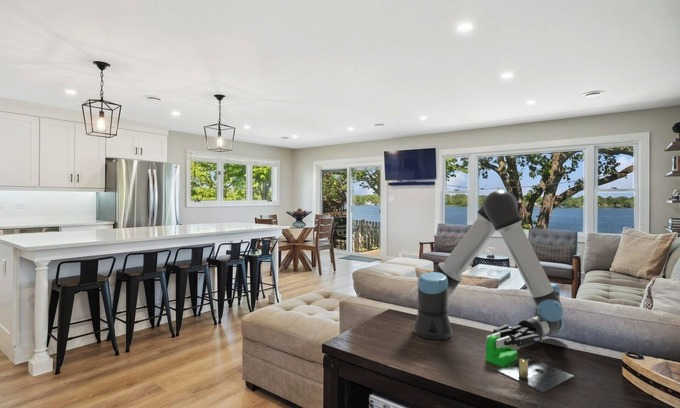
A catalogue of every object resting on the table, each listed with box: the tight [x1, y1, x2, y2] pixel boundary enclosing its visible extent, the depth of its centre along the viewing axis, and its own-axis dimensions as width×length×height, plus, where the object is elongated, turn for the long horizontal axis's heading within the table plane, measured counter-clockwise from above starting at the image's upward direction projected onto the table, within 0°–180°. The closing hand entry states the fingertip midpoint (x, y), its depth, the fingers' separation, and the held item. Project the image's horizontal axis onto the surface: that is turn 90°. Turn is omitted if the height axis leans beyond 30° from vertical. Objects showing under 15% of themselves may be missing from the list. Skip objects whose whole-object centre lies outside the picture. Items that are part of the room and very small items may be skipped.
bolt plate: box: [495, 356, 575, 393], centre depth 113 cm, size 15×17×6 cm
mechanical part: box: [485, 334, 518, 367], centre depth 123 cm, size 12×6×8 cm, turn 129°
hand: (492, 342), depth 122 cm, fingers open, 3 cm apart
